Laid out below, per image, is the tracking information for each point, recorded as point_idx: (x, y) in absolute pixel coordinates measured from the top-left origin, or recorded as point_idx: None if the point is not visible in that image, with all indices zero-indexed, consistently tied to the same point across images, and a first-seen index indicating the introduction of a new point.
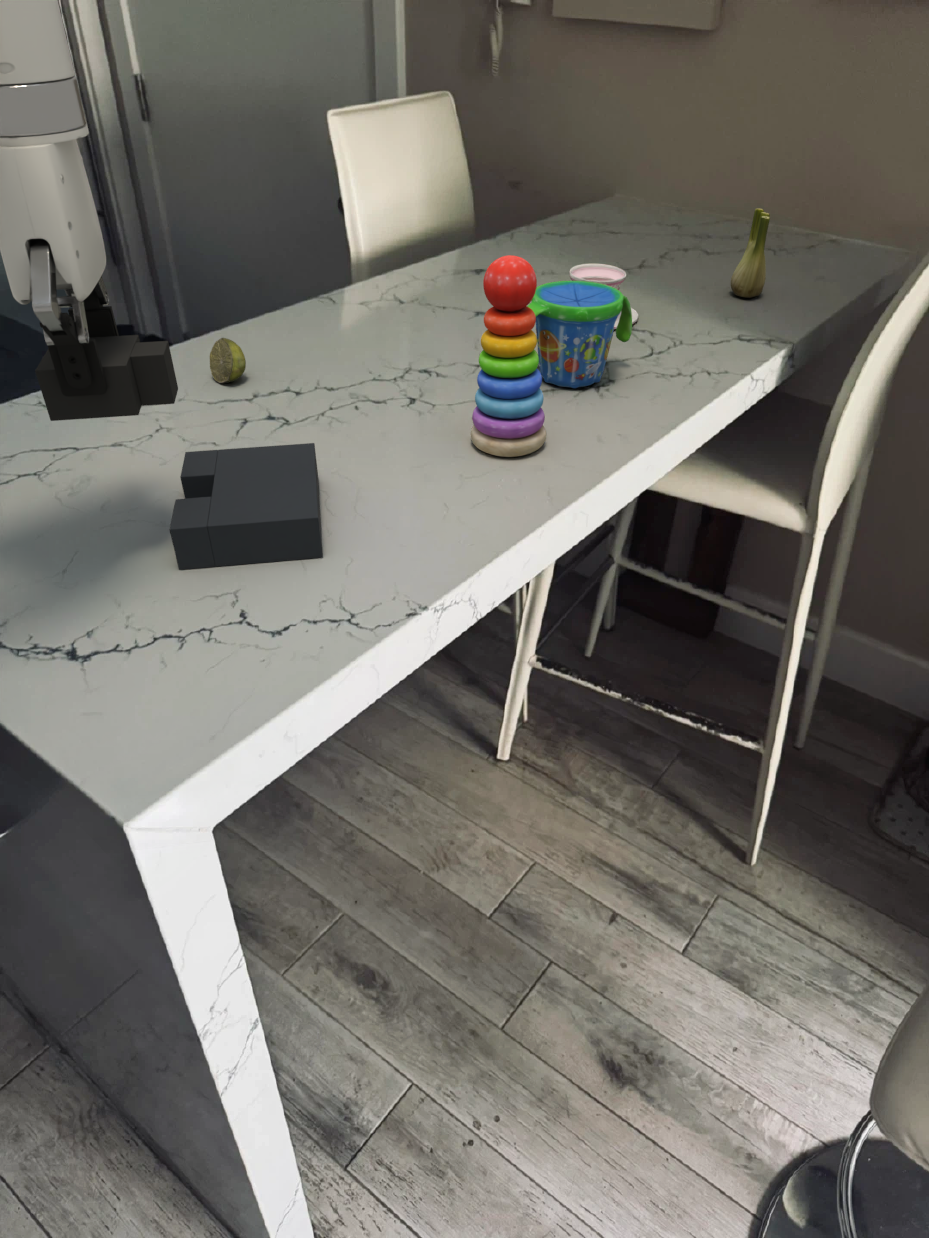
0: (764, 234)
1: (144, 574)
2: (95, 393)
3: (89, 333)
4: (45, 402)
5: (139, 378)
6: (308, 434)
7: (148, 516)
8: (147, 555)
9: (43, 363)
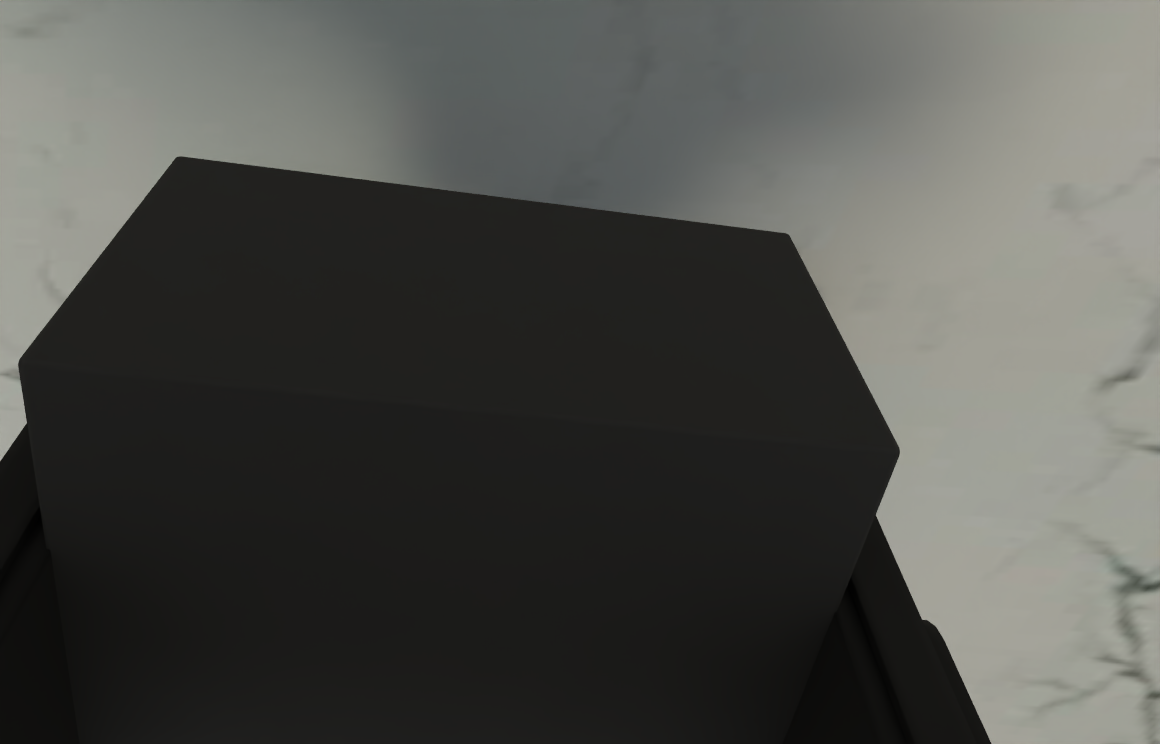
0: None
1: (228, 119)
2: None
3: (809, 726)
4: (135, 219)
5: None
6: (1016, 629)
7: (653, 137)
8: (359, 131)
9: (213, 420)
